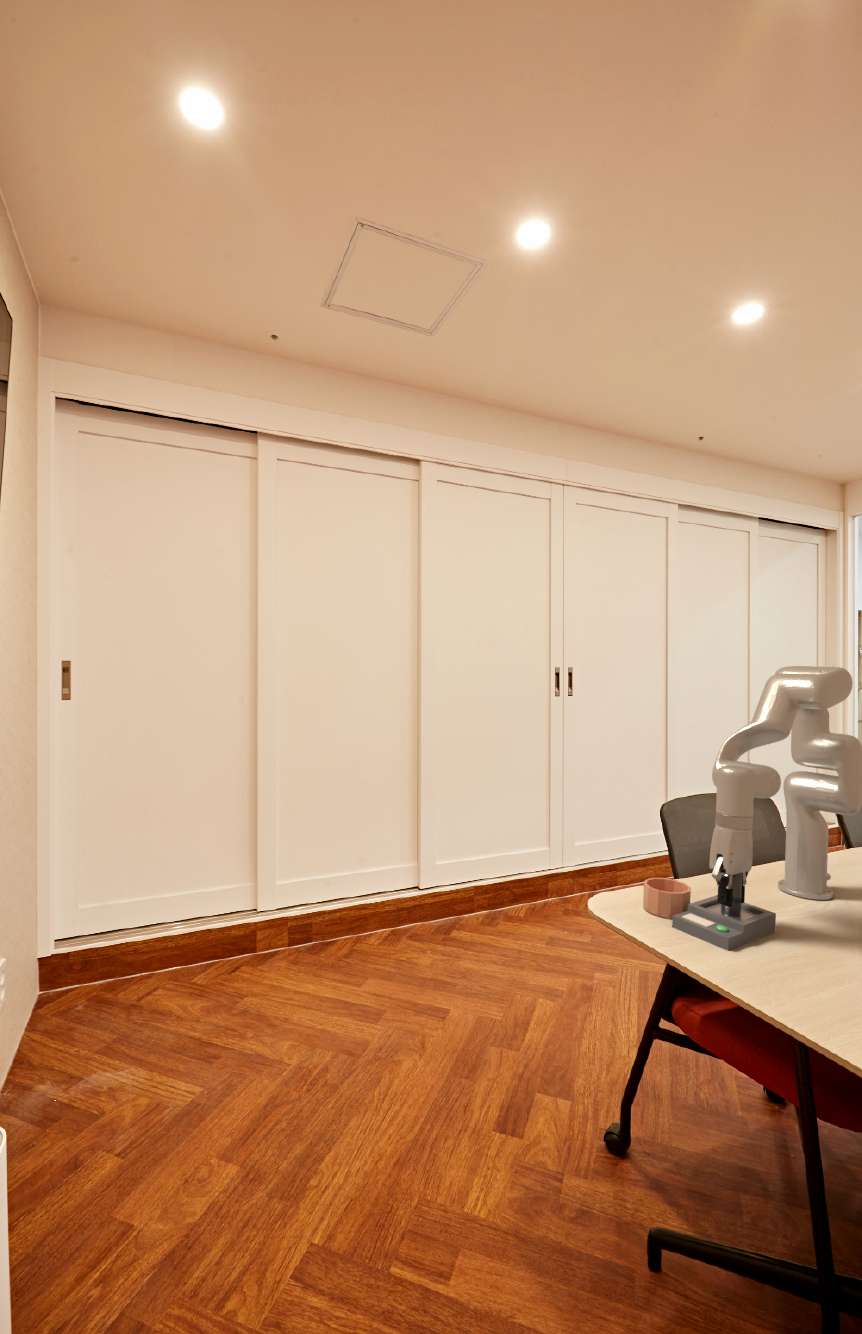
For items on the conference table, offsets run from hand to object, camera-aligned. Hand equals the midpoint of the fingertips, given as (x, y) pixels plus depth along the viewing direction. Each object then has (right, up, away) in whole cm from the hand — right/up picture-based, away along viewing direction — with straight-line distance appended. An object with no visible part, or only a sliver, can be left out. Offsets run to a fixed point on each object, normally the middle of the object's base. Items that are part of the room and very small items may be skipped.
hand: (730, 902), depth 138 cm
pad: (0, -3, 0) cm, 3 cm away
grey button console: (-2, -5, -1) cm, 6 cm away
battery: (0, -2, 0) cm, 2 cm away
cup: (-11, -5, +8) cm, 15 cm away
